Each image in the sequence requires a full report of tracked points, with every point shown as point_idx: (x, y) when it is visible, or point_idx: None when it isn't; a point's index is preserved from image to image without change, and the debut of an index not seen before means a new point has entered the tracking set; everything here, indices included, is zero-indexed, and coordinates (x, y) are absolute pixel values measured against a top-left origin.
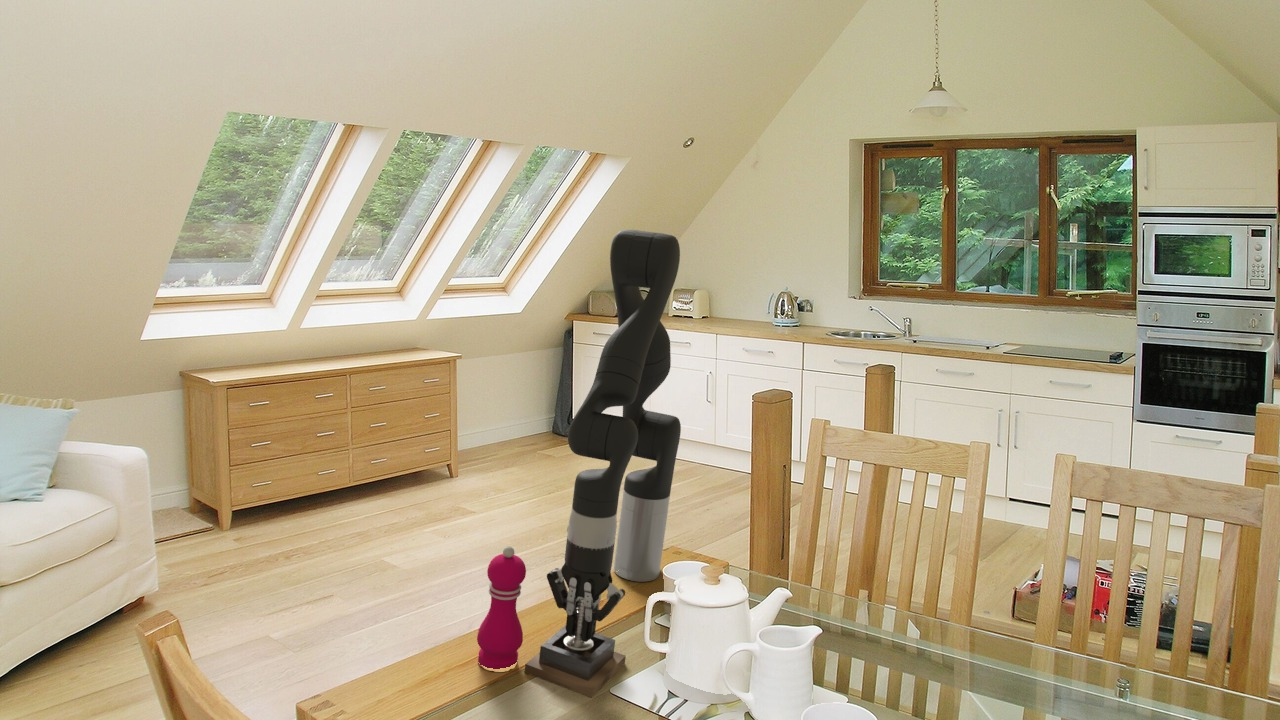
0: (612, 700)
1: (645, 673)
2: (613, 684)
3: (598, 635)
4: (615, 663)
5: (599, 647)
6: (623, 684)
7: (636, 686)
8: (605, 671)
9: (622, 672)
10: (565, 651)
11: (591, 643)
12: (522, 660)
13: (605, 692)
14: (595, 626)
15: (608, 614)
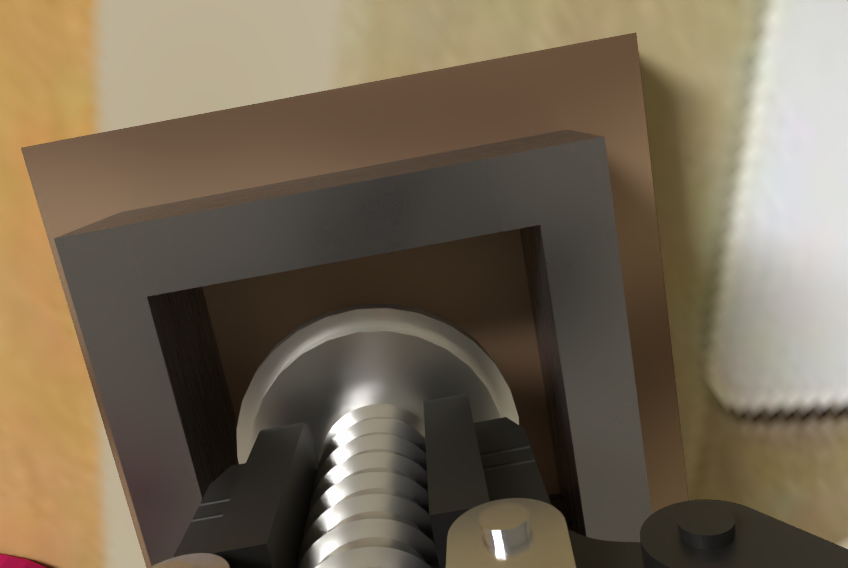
0: (792, 474)
1: (808, 30)
2: (700, 326)
3: (425, 191)
4: (640, 205)
5: (569, 365)
6: (753, 276)
7: (838, 230)
8: (644, 353)
9: (666, 152)
10: None
11: (491, 396)
12: (77, 536)
13: (709, 437)
14: (538, 476)
15: (754, 514)
